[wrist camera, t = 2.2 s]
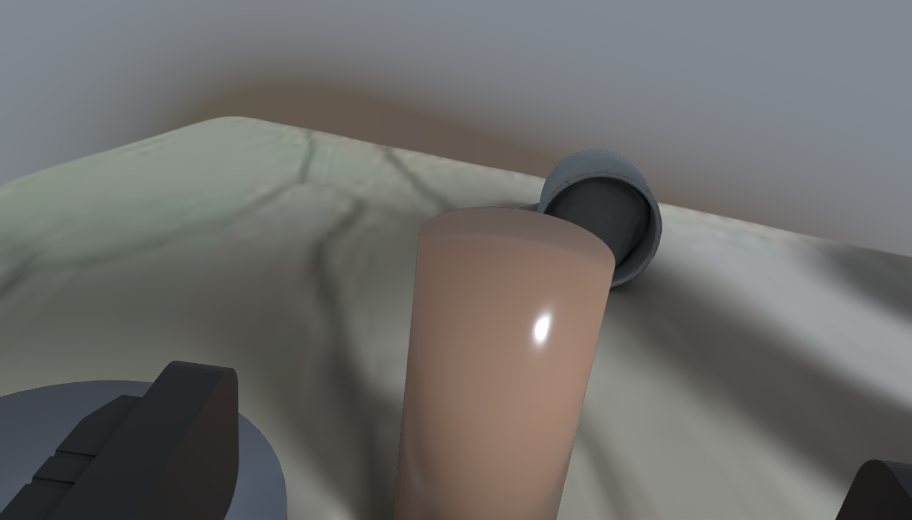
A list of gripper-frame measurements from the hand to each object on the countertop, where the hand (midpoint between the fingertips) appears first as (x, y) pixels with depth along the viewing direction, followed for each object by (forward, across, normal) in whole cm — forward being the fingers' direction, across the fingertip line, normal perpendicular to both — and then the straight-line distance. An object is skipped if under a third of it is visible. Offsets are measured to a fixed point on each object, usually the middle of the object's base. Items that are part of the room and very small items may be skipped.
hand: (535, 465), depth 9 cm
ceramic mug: (+37, -6, +14) cm, 40 cm away
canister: (+12, 0, +14) cm, 18 cm away
